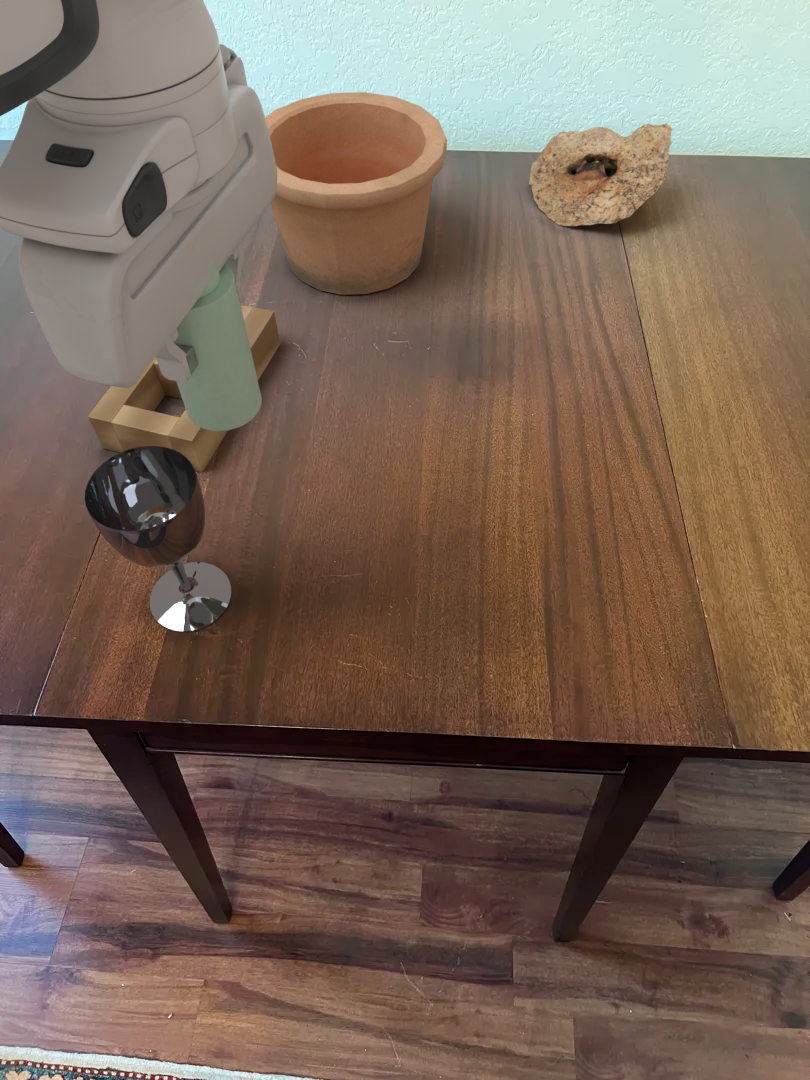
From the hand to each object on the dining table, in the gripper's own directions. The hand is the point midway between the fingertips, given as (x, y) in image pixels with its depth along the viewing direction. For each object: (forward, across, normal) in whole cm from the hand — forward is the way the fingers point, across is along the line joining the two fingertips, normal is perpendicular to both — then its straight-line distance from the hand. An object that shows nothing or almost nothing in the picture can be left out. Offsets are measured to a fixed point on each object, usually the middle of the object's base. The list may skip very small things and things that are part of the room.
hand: (205, 340), depth 50 cm
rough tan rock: (+26, -65, +17) cm, 72 cm away
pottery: (+26, -46, -8) cm, 53 cm away
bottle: (+6, 0, 0) cm, 6 cm away
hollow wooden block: (+25, -18, -16) cm, 35 cm away
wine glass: (+25, +5, -5) cm, 26 cm away
